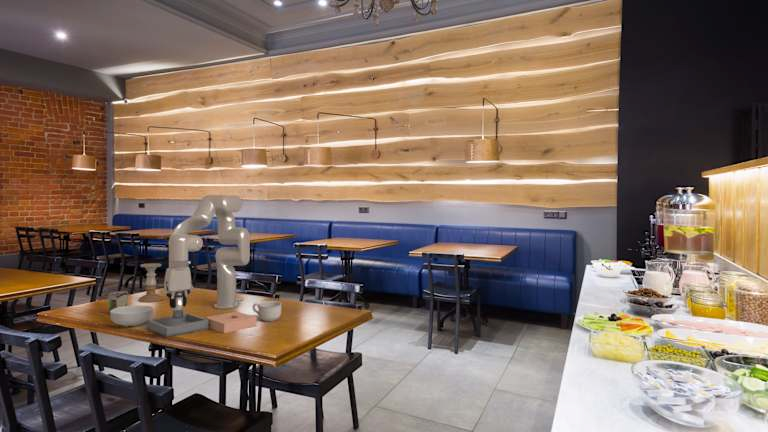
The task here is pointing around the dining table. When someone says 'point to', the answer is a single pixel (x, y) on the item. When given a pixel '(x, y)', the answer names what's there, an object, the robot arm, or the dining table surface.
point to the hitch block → (231, 322)
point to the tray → (177, 325)
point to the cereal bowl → (131, 315)
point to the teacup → (268, 310)
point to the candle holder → (150, 284)
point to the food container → (117, 299)
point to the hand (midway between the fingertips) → (178, 306)
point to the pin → (178, 305)
